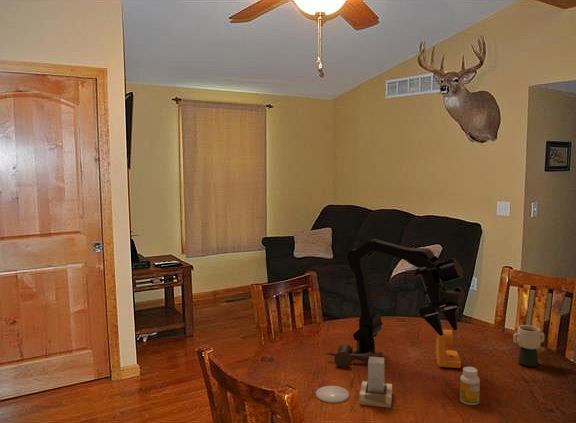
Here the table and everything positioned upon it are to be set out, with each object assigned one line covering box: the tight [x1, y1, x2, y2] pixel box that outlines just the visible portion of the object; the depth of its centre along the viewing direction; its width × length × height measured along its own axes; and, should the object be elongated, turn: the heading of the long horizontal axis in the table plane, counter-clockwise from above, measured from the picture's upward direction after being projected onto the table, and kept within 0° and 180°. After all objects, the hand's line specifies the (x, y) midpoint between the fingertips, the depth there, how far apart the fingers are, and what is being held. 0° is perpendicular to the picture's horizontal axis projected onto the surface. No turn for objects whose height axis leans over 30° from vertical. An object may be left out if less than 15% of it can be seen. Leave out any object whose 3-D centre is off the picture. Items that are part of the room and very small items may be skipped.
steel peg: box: [367, 357, 385, 395], centre depth 142 cm, size 4×4×12 cm
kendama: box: [326, 343, 384, 369], centre depth 169 cm, size 6×10×20 cm
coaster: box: [315, 385, 350, 404], centre depth 145 cm, size 10×10×1 cm
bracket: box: [435, 329, 462, 369], centre depth 167 cm, size 11×7×12 cm, turn 169°
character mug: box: [512, 324, 545, 368], centre depth 165 cm, size 11×7×13 cm, turn 92°
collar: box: [359, 380, 393, 408], centre depth 142 cm, size 9×9×3 cm
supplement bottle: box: [459, 366, 481, 406], centre depth 140 cm, size 5×5×10 cm
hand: (448, 332), depth 155 cm, fingers open, 9 cm apart
